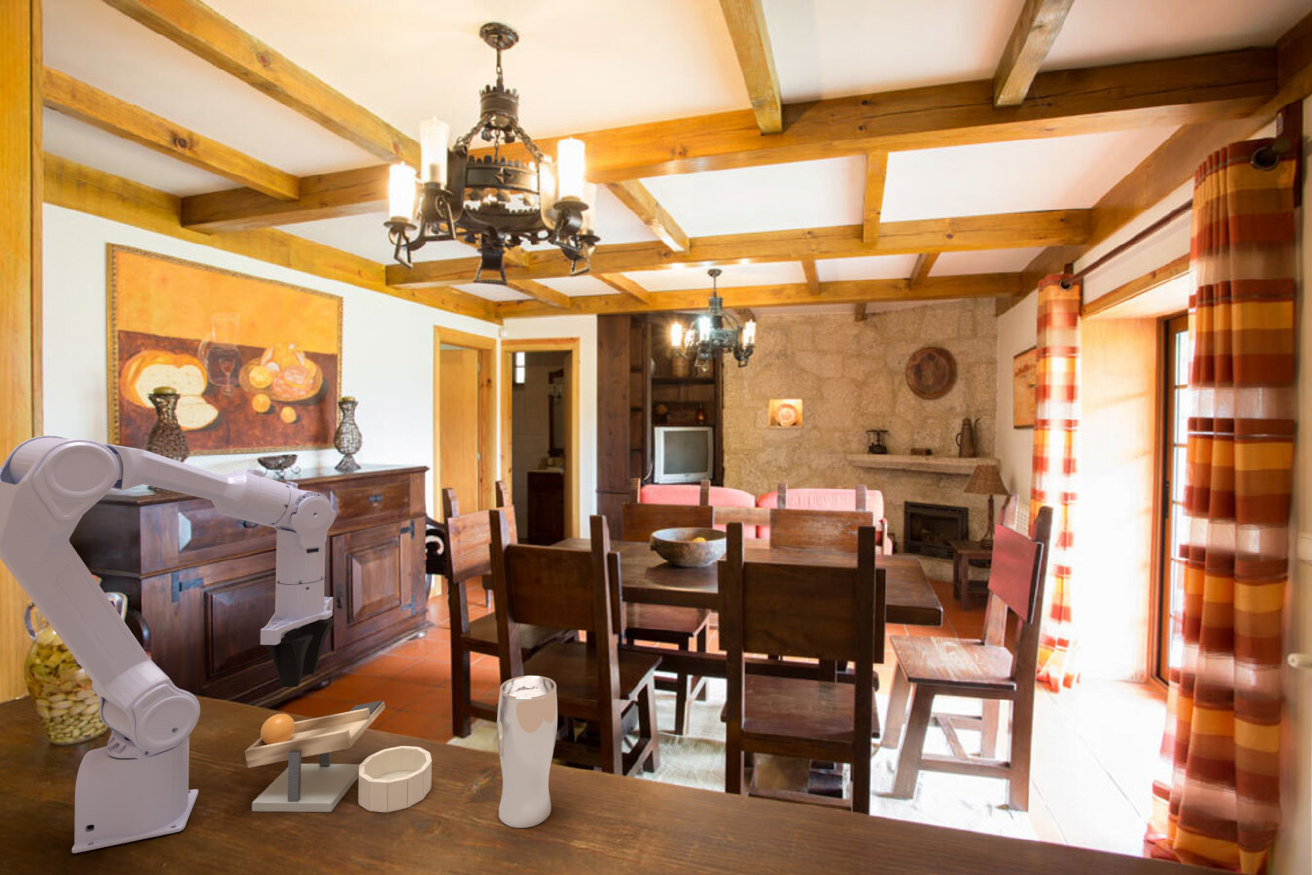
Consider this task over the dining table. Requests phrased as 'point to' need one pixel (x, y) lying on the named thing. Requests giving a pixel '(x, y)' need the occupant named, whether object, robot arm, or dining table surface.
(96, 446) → the robot arm
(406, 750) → the cup
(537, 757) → the beer glass
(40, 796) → the dining table surface
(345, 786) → the stand
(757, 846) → the dining table surface
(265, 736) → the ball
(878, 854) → the dining table surface
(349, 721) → the tilting wooden tray
